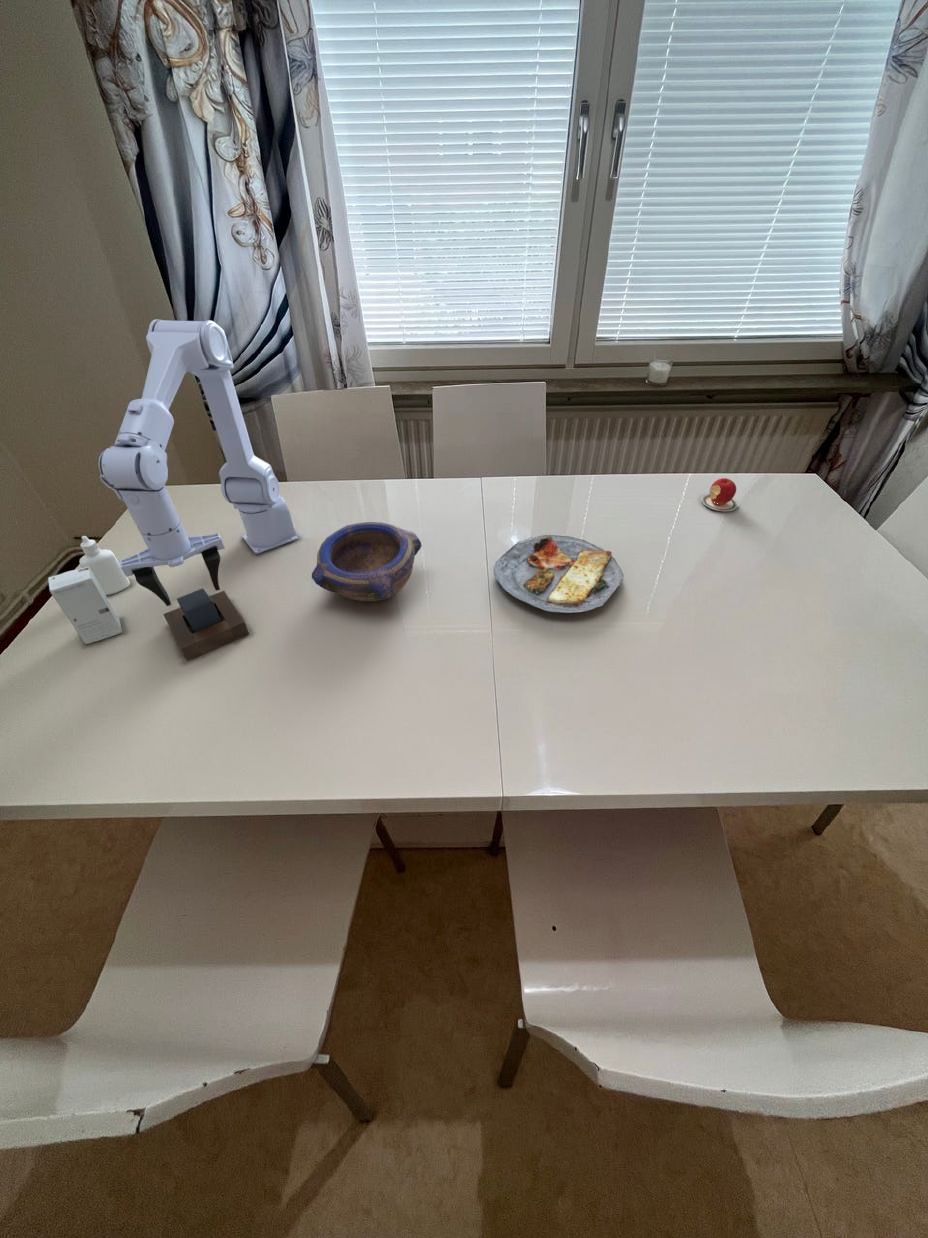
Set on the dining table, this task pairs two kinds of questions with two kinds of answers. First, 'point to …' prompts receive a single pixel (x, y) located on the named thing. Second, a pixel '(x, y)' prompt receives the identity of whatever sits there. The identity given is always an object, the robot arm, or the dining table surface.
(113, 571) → the eye dropper bottle
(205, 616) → the dark grey rectangular block
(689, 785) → the dining table surface
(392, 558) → the bowl
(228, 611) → the frame
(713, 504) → the apple
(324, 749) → the dining table surface
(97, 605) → the cosmetic box
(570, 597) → the food plate
